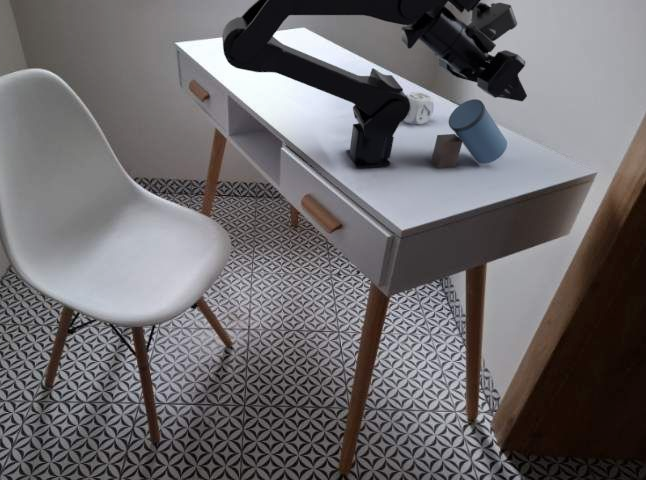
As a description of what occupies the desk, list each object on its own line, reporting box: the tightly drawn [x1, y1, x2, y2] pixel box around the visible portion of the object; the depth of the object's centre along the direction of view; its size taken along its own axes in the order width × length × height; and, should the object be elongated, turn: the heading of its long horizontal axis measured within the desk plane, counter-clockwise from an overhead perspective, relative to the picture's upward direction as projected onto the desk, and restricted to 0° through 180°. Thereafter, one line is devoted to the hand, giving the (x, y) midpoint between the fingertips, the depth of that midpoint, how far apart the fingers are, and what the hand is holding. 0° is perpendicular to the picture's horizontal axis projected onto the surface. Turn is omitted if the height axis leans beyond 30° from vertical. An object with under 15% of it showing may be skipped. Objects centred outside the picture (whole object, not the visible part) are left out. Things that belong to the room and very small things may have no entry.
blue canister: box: [448, 98, 508, 165], centre depth 90 cm, size 11×6×11 cm, turn 102°
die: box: [402, 91, 435, 126], centre depth 107 cm, size 5×5×5 cm
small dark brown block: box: [431, 133, 463, 169], centre depth 91 cm, size 3×3×5 cm
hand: (509, 91), depth 88 cm, fingers open, 9 cm apart
